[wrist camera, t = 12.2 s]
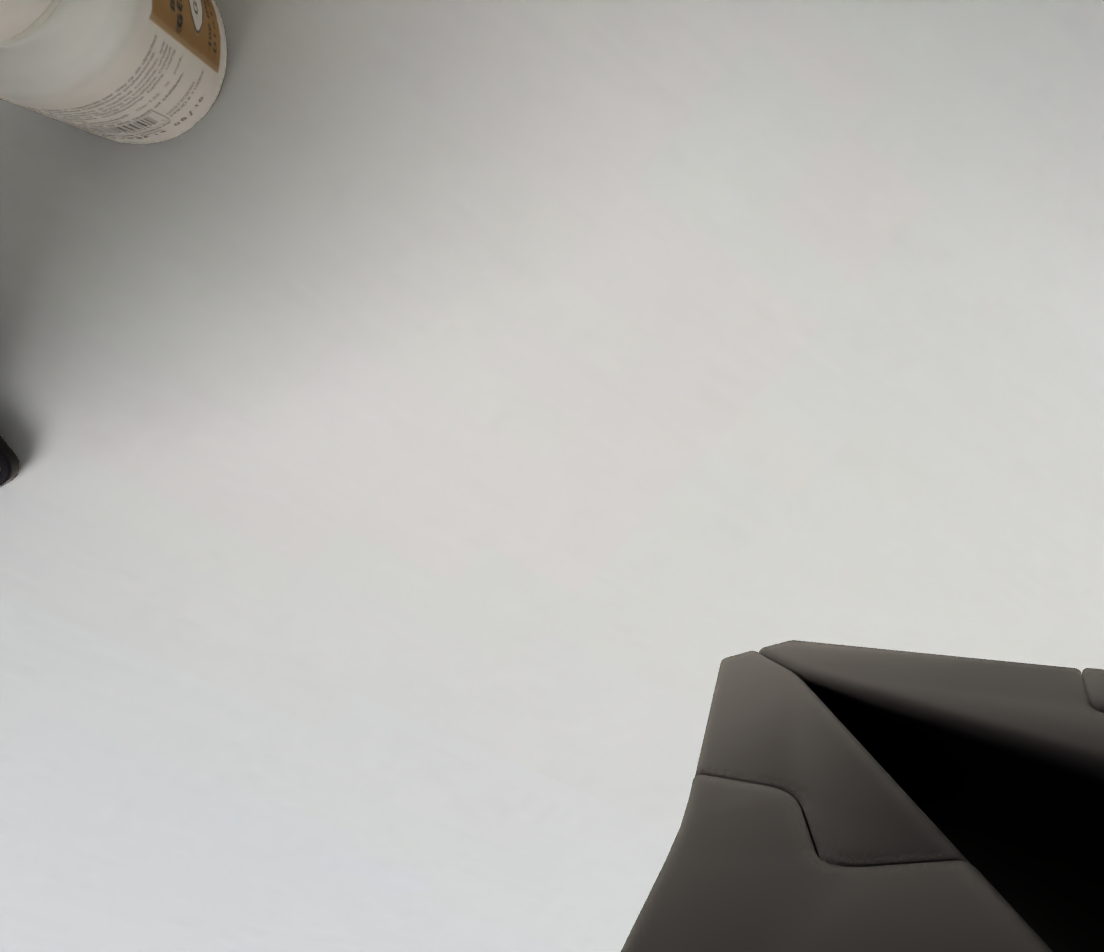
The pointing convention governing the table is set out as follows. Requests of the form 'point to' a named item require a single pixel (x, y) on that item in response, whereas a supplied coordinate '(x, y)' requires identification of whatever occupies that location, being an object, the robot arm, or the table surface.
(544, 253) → the table surface
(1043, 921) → the robot arm
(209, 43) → the pill bottle
